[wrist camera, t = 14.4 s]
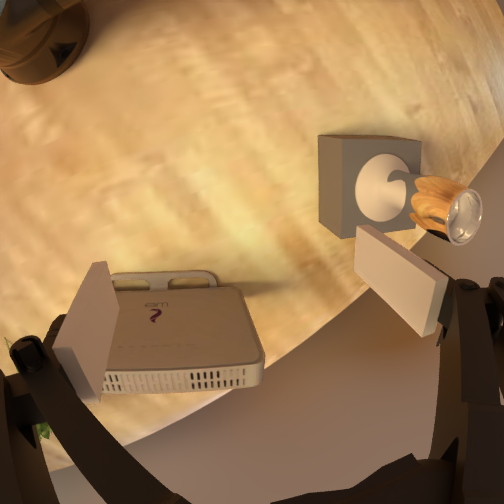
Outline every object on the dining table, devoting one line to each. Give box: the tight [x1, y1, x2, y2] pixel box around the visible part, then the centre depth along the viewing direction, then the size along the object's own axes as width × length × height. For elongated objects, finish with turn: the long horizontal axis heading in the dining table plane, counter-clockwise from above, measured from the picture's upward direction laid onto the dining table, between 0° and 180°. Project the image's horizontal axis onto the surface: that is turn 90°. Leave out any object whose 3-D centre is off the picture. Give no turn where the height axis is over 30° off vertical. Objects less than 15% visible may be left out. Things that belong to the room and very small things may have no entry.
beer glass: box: [375, 166, 483, 246], centre depth 36 cm, size 7×7×15 cm
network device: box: [102, 270, 265, 394], centre depth 42 cm, size 26×9×20 cm, turn 87°
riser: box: [318, 135, 421, 239], centre depth 46 cm, size 14×14×8 cm
